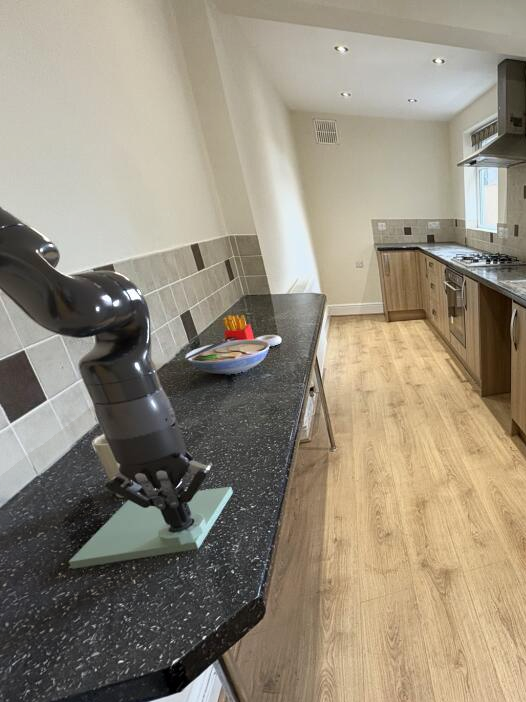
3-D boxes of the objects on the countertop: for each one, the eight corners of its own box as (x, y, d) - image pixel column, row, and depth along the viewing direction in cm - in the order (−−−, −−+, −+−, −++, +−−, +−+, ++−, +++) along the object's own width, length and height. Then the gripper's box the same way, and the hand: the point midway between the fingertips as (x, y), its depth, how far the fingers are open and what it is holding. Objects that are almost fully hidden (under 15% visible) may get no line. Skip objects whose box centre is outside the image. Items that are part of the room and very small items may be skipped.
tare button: (170, 539, 62) (166, 530, 61) (178, 527, 64) (175, 518, 63) (189, 536, 62) (186, 527, 62) (197, 524, 65) (194, 516, 64)
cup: (108, 500, 73) (82, 447, 69) (128, 480, 78) (106, 430, 74) (147, 495, 74) (124, 442, 70) (164, 476, 80) (144, 426, 75)
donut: (254, 351, 152) (284, 346, 157) (251, 342, 150) (282, 338, 155) (252, 345, 159) (280, 340, 164) (249, 336, 158) (278, 332, 163)
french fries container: (230, 359, 143) (218, 320, 138) (236, 352, 151) (225, 314, 145) (253, 357, 145) (242, 318, 140) (257, 350, 153) (248, 313, 148)
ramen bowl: (245, 386, 121) (238, 360, 118) (170, 386, 121) (160, 360, 118) (290, 358, 144) (285, 336, 141) (226, 358, 144) (219, 336, 141)
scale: (70, 570, 58) (61, 554, 57) (130, 506, 71) (124, 492, 70) (199, 549, 62) (193, 534, 61) (234, 492, 75) (230, 478, 74)
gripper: (61, 443, 51) (114, 549, 58) (182, 430, 54) (219, 533, 61) (101, 416, 58) (144, 514, 64) (207, 406, 61) (238, 501, 67)
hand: (180, 523), depth 63 cm, fingers closed
